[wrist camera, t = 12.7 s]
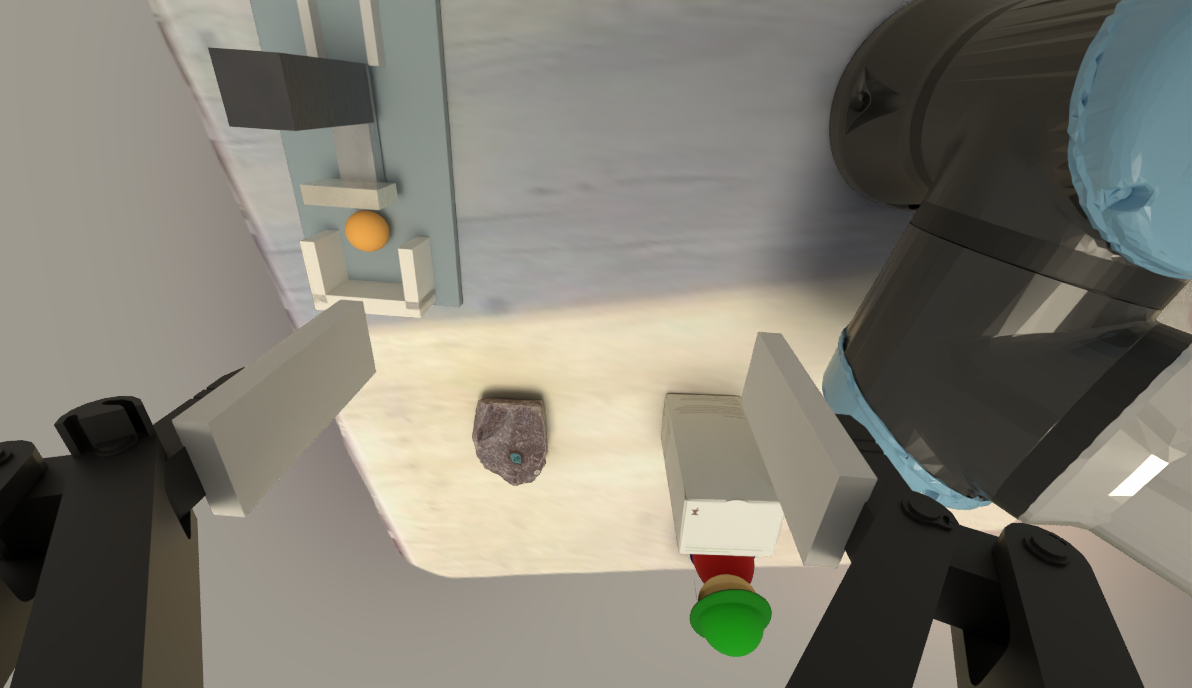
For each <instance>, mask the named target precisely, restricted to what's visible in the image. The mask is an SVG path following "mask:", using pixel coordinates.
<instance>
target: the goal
mask: <svg viewBox="0 0 1192 688" xmlns="http://www.w3.org/2000/svg"><path fill="white" fill-rule="evenodd" d="M300 244H301V248H302V252H303V257H304V261H305V265H306V269H307V274H308V278H309V282H310V286H311V291H312V295H313V299H314V303H315V308H316V310H326V309H328V308H329V307H330V306H332V305H333V304H335V303H336V302H337V301H339V300H340V299H341V300H354V301H363V304H364V309H365V313H366V314H379V315H391V316H404V317H417V318H421V317H422V316H423V315H424V314H425V312H426V311H427V310H428V309H429V308H430V307H431V306H432V305H433V304H434V303H435V302H436V293H435V283H434V274H433V264H432V255H431V245H430V237H422V236H416V237H414V238H413V239H411V240H410V241H409V242H407V243H406V244H404V245H403V246H401V247H400V248H398V253H399V260H400V267H401V274H402V282H403V284H400V283H387V282H374V281H361V280H349V277H348V272H347V267H346V261H345V256H344V251H343V246H342V241H341V236H340V230H329V229H326V230H324V231H322V232H319V233H317V234H315V235H313V236H310V237H308V238H306V239H304V240H301V241H300Z"/></svg>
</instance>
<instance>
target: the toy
mask: <svg viewBox="0 0 1192 688" xmlns="http://www.w3.org/2000/svg"><path fill="white" fill-rule="evenodd" d="M690 558H691V561H692V562H693V564H694V566H695V568H696V571H697V573H698V575H699V577H700V578H701V580H702V581H703V583H704V585H703V587H702V588H701V590H700V592H699V597H698V602H697V603H696V604H695V605H694V607H693V608H692V610H691V614H690V623H691V626H692V628H693V629H694V631H695V632H696V633H697V634H699V635H700V636H702V637H704V638H706V640H707V641H708V643H709V644H710V645H711V646H712V647H713V648H714V649H716V650H717V651H719V652H721V653H722V654H725V655H728V656H732V657H740V656H745V655H747V654H749V653H751V652H752V651H754V649H756V648H757V646H758V645H759V643H760V641H761V639H762V636H763V631H764V629H765V628H766V627H767V625H768V624H769V622H770V620H771V615H772V611H771V607H770V605H769V603H768V602H767V601H766V600H765V599H764V598H763V597H762V596H760V595H759V594H757V593H756V592H755V591H754V589H753V588H752V586H751V585H750V583H751V581H752V578H753V574H754V558H755V556H734V555H708V554H690Z"/></svg>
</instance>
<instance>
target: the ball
mask: <svg viewBox="0 0 1192 688" xmlns="http://www.w3.org/2000/svg"><path fill="white" fill-rule="evenodd" d="M345 234H346V237H347V239H348V240H349V242H350V243H351V244H352V245H353V246H354V247H355V248H357V249H359V250H362V251H366V252H373V251H377V250H379V249H381V248H382V247H384V246H385V245H386V243H387V241H388V239H389V234H390V233H389V227H388V225H387V223H386V221H385V220H384V219H383V218H382V217H381V216H380V215H379V214H377V213H375V212H372V211H366V210H365V211H358V212H356V213H354V214H352V215H351V216H350V217H349V218H348V220H347V222H346V224H345Z"/></svg>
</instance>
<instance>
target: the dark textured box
mask: <svg viewBox="0 0 1192 688" xmlns="http://www.w3.org/2000/svg"><path fill="white" fill-rule="evenodd" d="M208 49H209V53H210V56H211V60H212V64H213V67H214V71H215V75H216V78H217V82H218V86H219V89H220V93H221V96H222V100H223V104H224V107H225V111H226V115H227V118H228V122H229V126H232V127H246V128H260V129H274V130H288V131H301V130H310V129H320V128H329V127H332V133H333V138H334V144H335V149H336V155H337V160H338V165H339V171H340V176H341V179H334V178H322V179H318V180H315V181H311V182H307V183H304V184H300V188H301V192H302V197H303V201H304V204H305V205H318V206H332V207H345V208H358V209H372V210H381V209H383V208H385V207H388V206H390V205H392V204H394V203H396V202H398V196H397V189H396V183H388V182H385V176H384V169H383V162H382V155H381V148H380V141H379V134H378V127H377V120H376V113H375V105H374V98H373V91H372V84H371V77H370V70H369V65H368V64H366V63H358V62H350V61H342V60H334V59H326V58H318V57H310V56H303V55H295V54H287V53H279V52H265V51H250V50H235V49H221V48H208Z"/></svg>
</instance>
